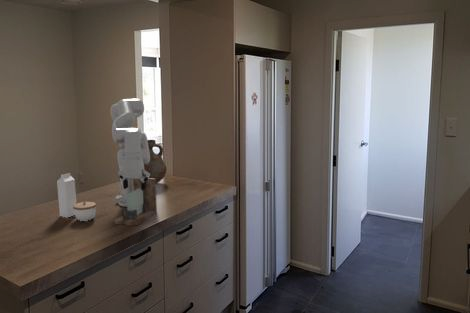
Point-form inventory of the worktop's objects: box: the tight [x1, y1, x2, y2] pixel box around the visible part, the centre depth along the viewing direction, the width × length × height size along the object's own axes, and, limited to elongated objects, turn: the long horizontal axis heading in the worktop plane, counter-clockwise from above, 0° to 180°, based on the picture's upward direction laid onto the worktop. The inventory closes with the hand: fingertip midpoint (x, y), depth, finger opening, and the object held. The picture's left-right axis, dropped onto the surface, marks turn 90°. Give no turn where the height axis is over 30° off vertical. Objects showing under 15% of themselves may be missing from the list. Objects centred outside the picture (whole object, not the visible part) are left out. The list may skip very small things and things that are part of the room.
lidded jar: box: [73, 200, 97, 222], centre depth 200 cm, size 11×11×9 cm
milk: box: [56, 172, 77, 218], centre depth 205 cm, size 6×6×22 cm
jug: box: [144, 139, 167, 186], centre depth 271 cm, size 22×22×30 cm
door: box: [126, 188, 144, 215], centre depth 203 cm, size 2×12×12 cm, turn 165°
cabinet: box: [113, 178, 158, 226], centre depth 202 cm, size 12×22×18 cm, turn 165°
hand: (134, 189), depth 202 cm, fingers open, 9 cm apart
